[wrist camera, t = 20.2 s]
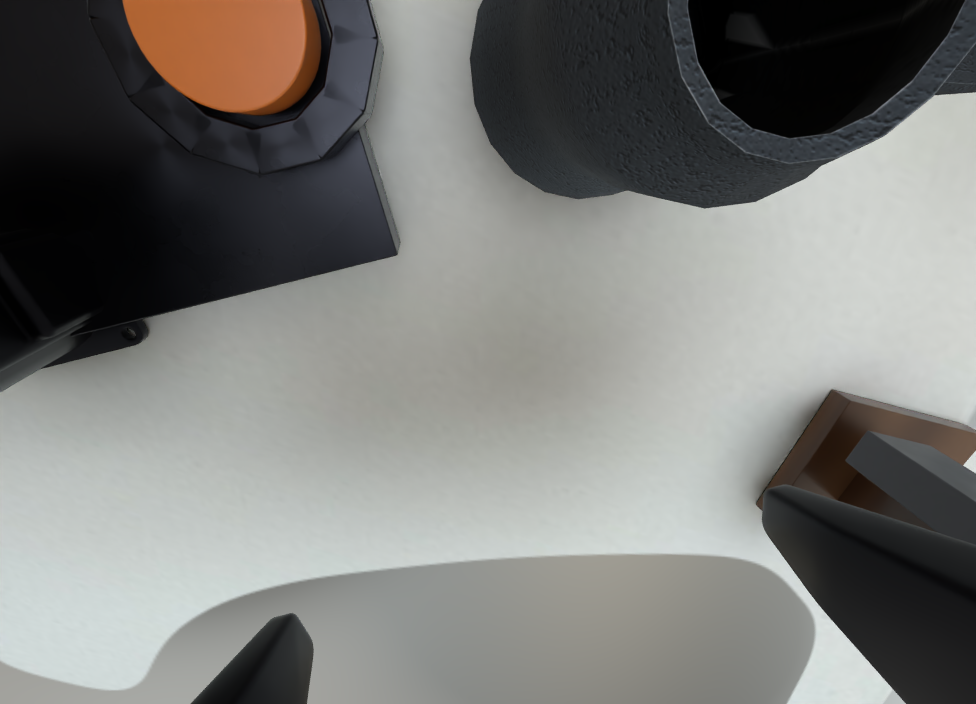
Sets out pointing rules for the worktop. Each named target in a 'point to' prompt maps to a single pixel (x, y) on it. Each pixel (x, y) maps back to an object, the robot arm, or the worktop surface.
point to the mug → (706, 88)
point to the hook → (837, 435)
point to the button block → (185, 162)
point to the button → (231, 50)
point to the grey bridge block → (921, 482)
